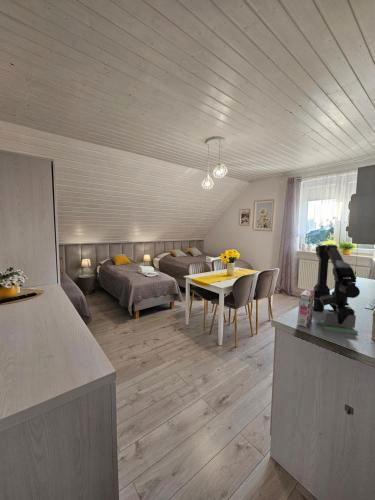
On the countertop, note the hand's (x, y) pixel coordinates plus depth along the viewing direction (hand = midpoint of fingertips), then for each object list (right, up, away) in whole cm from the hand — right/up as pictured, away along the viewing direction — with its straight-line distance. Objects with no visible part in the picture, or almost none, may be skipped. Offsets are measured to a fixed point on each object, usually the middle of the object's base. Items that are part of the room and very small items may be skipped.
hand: (338, 321), depth 110 cm
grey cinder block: (0, -1, 0) cm, 1 cm away
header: (0, -3, 0) cm, 3 cm away
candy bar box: (-14, -3, +5) cm, 15 cm away
